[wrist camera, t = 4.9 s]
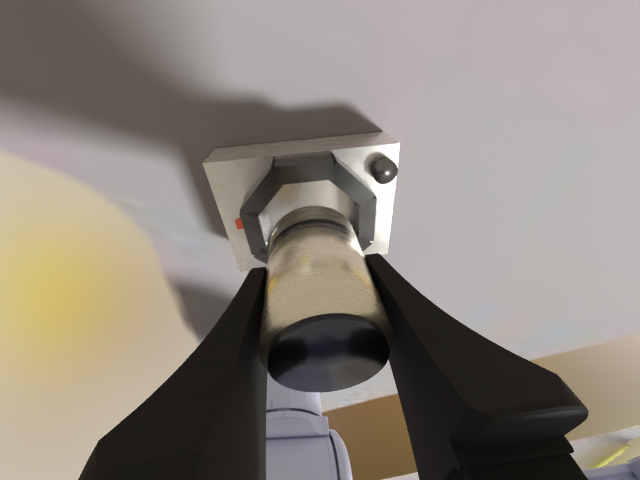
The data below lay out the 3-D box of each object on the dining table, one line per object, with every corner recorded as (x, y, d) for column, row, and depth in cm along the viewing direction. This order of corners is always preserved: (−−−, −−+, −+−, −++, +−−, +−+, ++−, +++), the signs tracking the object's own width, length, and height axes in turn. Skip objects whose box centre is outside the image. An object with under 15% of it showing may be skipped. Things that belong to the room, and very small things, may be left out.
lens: (357, 265, 14) (398, 382, 9) (282, 281, 14) (279, 405, 9) (350, 197, 12) (401, 303, 6) (258, 215, 12) (234, 336, 6)
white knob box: (376, 231, 21) (394, 266, 17) (246, 246, 21) (236, 286, 17) (383, 131, 16) (410, 150, 13) (215, 148, 16) (193, 173, 12)
